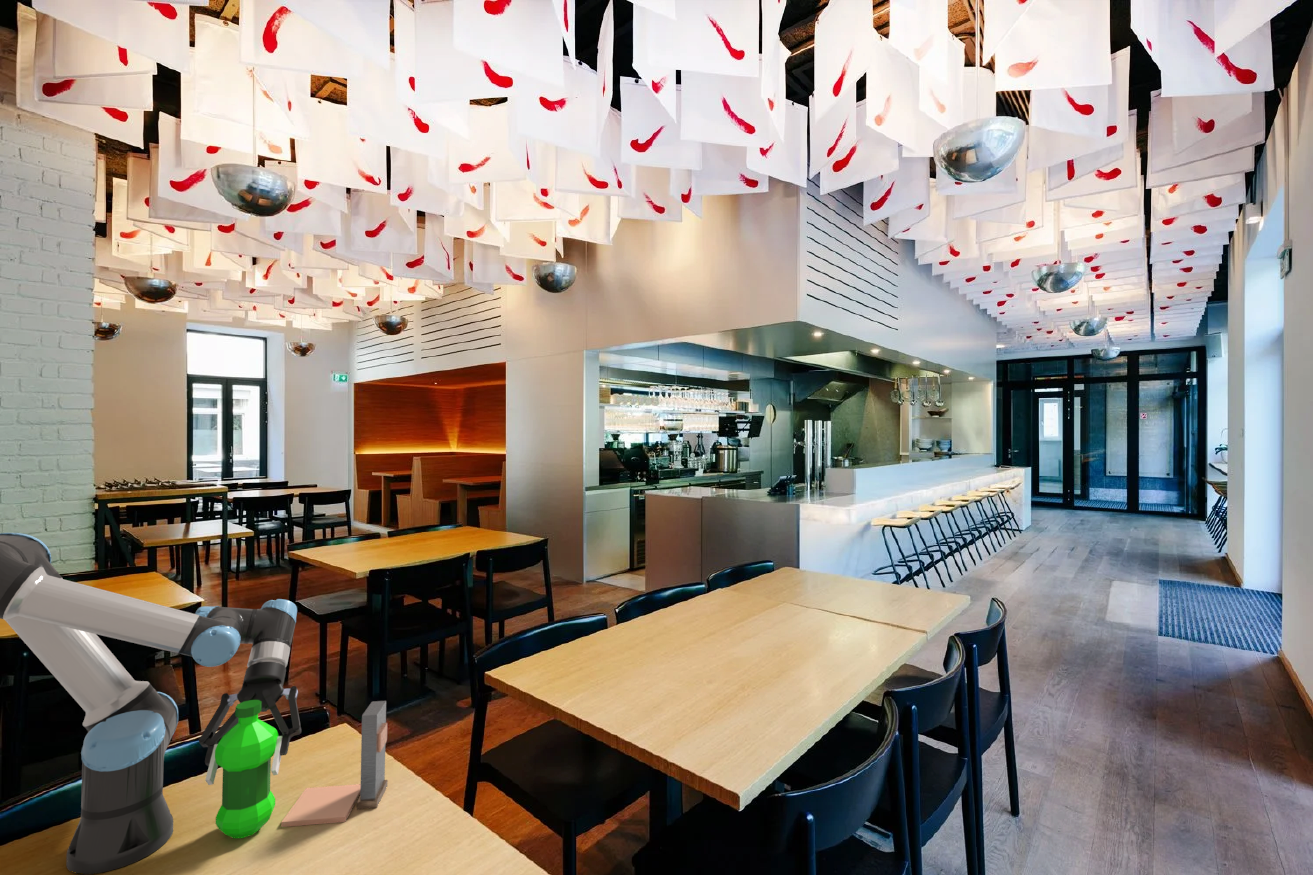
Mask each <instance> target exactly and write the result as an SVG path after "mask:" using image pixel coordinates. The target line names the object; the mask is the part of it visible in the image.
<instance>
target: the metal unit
mask: <svg viewBox="0 0 1313 875" xmlns="http://www.w3.org/2000/svg"><path fill="white" fill-rule="evenodd" d="M386 719H387V700H377V701H371V702H370V704H369V705H368V706H367V708H366V709H365V711H364V712H363V713H362V715H361V741H360V742H361V744H360V745H361V749H360V751H361V752H360V784H361V789H360V796H359V798H358V800H357V801H356V810H364V809H363V808H368V809H377V808H378V807H379V805H378V804H380V803H379V802H381V800H382V798H383V796H384V794H385V792H386V790H387V788H388V782H389V780H388V779H385V778H386V777H385V776H386V774H385V772H386V770H385V768H386V743H387V741H388V722H387V720H386ZM386 787H387V788H386Z"/></svg>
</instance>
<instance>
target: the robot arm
mask: <svg viewBox="0 0 1313 875" xmlns="http://www.w3.org/2000/svg"><path fill="white" fill-rule="evenodd" d="M297 613H298V606H297V605H296V604H295V603H294V602H292V601H290V600H288V599H282V598H277V599H276V600H275V599H274V600H273V599H270V600H268V601H265V602H264V603H263V604H262V606H261V608H241V607H226V606H225V607H224V606H220V605H216V606H215V605H214V606H206V605H205V606H200V607H198V608H197V610H196V611H195V613H192V612H189V611H185V610H180V609H177V608H173V607H169V606H165V605H162V604H158V603H154V602H150V601H146V600H143V599H139V598H137V597H132V596H128V595H125V594H120V593H117V592H113V591H109V590H105V589H101V588H97V587H93V586H91V585H86V584H83V583H79V582H76V581H71V580H67V579H63V577H62V576H61V575H60V573H59V572H58V571H57V569H56V568H55V567H54V566H53V564H52V553H51V551H50V549H49V548H48V546H47V544H45V542H43V541H42V540H41V539H39V538H37V537H35V536H33V535H30V534H27V533H22V532H1V533H0V619H1V620H4V621H5V622H6V624H8V626H9V627H10V628H11V629H12V630H13V631H14V632H15V633H16V634H17V636H18V637H19V639H21V640H22V641H23V643H24V644H26V646H27V647H28V648H29V649H30V650H31V652H32V653H33V654H34V655H35V656H36V657H37V658H38V659H39V661H40V662H41V663H42V664H43V665H44V667H45V668H46V669H47V670H48V671H49V672H50V673H51V674H52V676H53V677H54V678H55V679H56V680H57V681H58V682H59V684H60V685H61V686H62V687H63V688H64V689H65V691H67V693H68V694H69V695H70V696H71V697H72V699H74V701H75V702H76V703H77V704H78V705H79V706H80V707H81V708H82V710H83V712H85V716H84V720H83V722H82V726H83V727H84V728H85V729H86V731H87V733H86V735H85V737H84V740H83V743H82V744H83V745H82V747H81V752H80V754H81V763H82V765H81V798H80V799H81V800H80V801H81V803H80V804H81V805H80V808H81V810H80V819H79V821H78V824H77V826H76V829H75V831H74V834H73V836H72V839H71V841H70V843H69V845H68V848H67V851H66V868H67V870H68V871H69V872H71V871H73V872H76V873H75V874H77V873H83V874H82V875H94V873H95V874H100V873H101V874H102V873H106V872H109V871H113V870H117V869H120V868H122V867H123V868H124V867H126V866H129V865H132V864H134V863H136V862H138V861H140V860H143V859H144V858H146V857H148V856H149V855H151V854H152V853H154V852H157V850H159V849H160V848H161V847H163V846H164V845H166V843H167V842H168V841H169V840H170V839H171V837H172V835H173V832H174V818H173V815H172V814H171V811H170V808H169V805H168V803H167V801H166V799H165V796H164V794H163V792H164V791H163V789H164V787H163V786H164V761H165V754H166V751H167V748H168V746H169V745H170V742H171V740H172V737H173V735H174V733H175V732H176V729H177V727H178V723H179V708H178V705H177V703H176V702H175V700H174V699H173V697H171V696H170V695H168V694H166V693H164V692H161V691H157V690H156V689H155V687H154V686H153V685H152V684H151V683H150V682H149V681H144V680H142V681H141V680H135V679H134V678H133V676H132V675H131V674H130V673H129V672H128V671H127V670H126V668H125V667H124V665H123V664H122V663H121V662H120V661H119V660H118V659H117V657H116V656H115V655H114V653H112V651H111V650H110V649H109V648H108V647H107V645H106V644H105V643H104V642H103V640H102V639H101V638H100V637H99V636H103V637H107V638H111V639H115V640H116V639H117V640H119V641H120V640H121V641H125V642H128V643H134V644H137V645H141V646H146V647H151V648H155V649H158V650H164V651H168V652H172V653H176V654H181V655H184V656H188V657H192V658H193V660H194V662H196V663H197V664H199V665H201V666H203V667H208V668H214V667H218V666H222V665H224V664H225V663H227V662H228V661H230V660H231V659H232V658H233V657H234V656H235V654H236V653H237V651H238V650H239V648H240V645H241V644H244V645H245V644H246V645H248V644H249V645H250V644H251V645H252V646H251V649H250V654H249V657H248V661H247V665H246V666H247V668H246V669H245V674H244V678H243V680H242V686H241V688H240V690H239V691H238V693H233V694H229V693H227V692H226V693H225V692H224V693H223V694H222V695H221V698H220V702H219V706H218V707H217V709H216V711H215V712H214V714H213V716H212V717H211V718H210V720H209V722H208V724H207V726H206V727H205V729H204V730H203V732H202V734H200V736H199V738H198V742H199V744H200V746H201V747H202V748H207V750H206V753H205V754H206V755H205V759H204V763H205V765H206V766H207V767H208V769H207V772H206V775H205V779H204V781H205V782H206V783H207V785H208V786H210V785H212V786H213V785H215V784H214V783H215V779H216V776H217V772H218V771H217V770H218V767H219V765H218V764H217V763H216V760H215V750H216V747H217V745H218V743H219V741H220V740H221V739H222V737H223V736H224V735H225V734H226V733H227V732H228V731H229V730H230V729H231V728H233V727H234V726H235V725H236V724H237V723H239V718H238V717H236V716H235V711H236V708H235V710H234V712H233V713H232V714H231V715H230V716H229V717H228V719H227V720H226V721H225V722H224V723H223V720H224V719H225V717H226V716H227V713H228V712H229V710H230V707H233V705H234V704H235V702H236V701H238V702H239V704H240V703H242V702H244V701H249V700H260V701H262V702H261V712H260V713H263V712H268V711H270V713H271V715H272V716H273V718H274V721H275V722H276V725H277V726H278V729H279V730H280V732H281V735H279V736H278V738H277V743H276V748H275V753H274V755H273V758H272V762H271V774H272V775H273V776H278V775H279V772H280V765H281V759H282V756H286V755H287V754H288V752H289V748H290V741H291V739H292V738H293V737H294V736H299V735H300V734H302V727H301V721H300V715H299V710H298V709H299V708H298V704H297V699H298V696H299V691H298V688H297V686H296V685H292V686H291V687H290V688H289V687H288V688H284V683H285V678H286V672H287V666H288V662H289V657H290V652H291V646H292V642H293V638H294V633H295V628H296V623H297ZM98 635H99V636H98ZM283 696H285V698H286V700H288V707H289V713H290V718H291V724H292V725H291V726H292V727H291V728H289V727H288V725H287V723H286V721H285V719H284V718H283V716H282V714H281V712H280V710H279V709H278V706H277V703H278V702H279V700H281V698H282V697H283ZM222 723H223V724H222ZM221 724H222V726H221ZM219 727H220V728H219ZM73 872H72V873H73Z"/></svg>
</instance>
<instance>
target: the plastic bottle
mask: <svg viewBox="0 0 1313 875" xmlns="http://www.w3.org/2000/svg"><path fill="white" fill-rule="evenodd" d="M261 702H262V701H260V700H249V701H244V702H242V703H240V702H239V703H237V705H236V706H235V709H236V711H235V710H234V712H235V716H236V717H238V718H239V723H237V724H236V725H235V726H234V727H233V728H231V729H230V730H229V731H228V732H227V733H226V734H225V735H224V736H223V737H222V739H221V740H220V741H219V743H218V745H217V747H216V750H215V760H216V763H217V764H218V767H221V768H222V787H221V789H222V791H221V792H222V794H221V797H222V798H221V805H220V807H219V809H218V811H217V813H216V816H215V825H216V827H217V829H218V830H219V831H220V832H222V833H224V835H225V836H227V837H230V838H232V839H244V838H247V837H250V836H253V835H254V834H255V833H257V832H258V831H260V829H261V828H263V827H264V825H266V823H268V821H269V820H270V818H271V816H272V814H273V811H274V809H275V806H276V797H275V795H274V793H273V792H272V791H271V774H272V772H271V768H272V757H274V753H275V748H276V743H277V738H278V736H280V734H279V732H278V730H277V729H276V728H275V727H274V726H272V725H270V724H268V723H267V722H265V721H263V720H261V719H260V718H259V714H260V713H262V712H261Z"/></svg>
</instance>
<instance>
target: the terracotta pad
mask: <svg viewBox="0 0 1313 875" xmlns="http://www.w3.org/2000/svg"><path fill="white" fill-rule="evenodd" d="M360 789H361V783H357V784H344V785H343V784H342V785H329V786H317V787H316V786H315V787H305V789H304V790H303V791H302V793H301V794H300V795H299V797H298V798H297V799H296V801H295V803H294V804H293V805H292V807H291V808H290V810H289V811H288V812H287V813H286V815H285V816H284V817H283V819H282V820H281V822H280V823H281V824H280V825H281V826H280V828H286V827H287V828H288V827H296V826H297V827H298V826H312V825H322V824H333V823H334V824H335V823H345V822H346V821H347V820H348V817H349V815H350V814H351V811H352V810H353V809H352V808H354V806H355V805H356V804H357V801H358V800H359V798H360V796H359V795H360ZM358 797H359V798H358ZM357 799H358V800H357Z"/></svg>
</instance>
